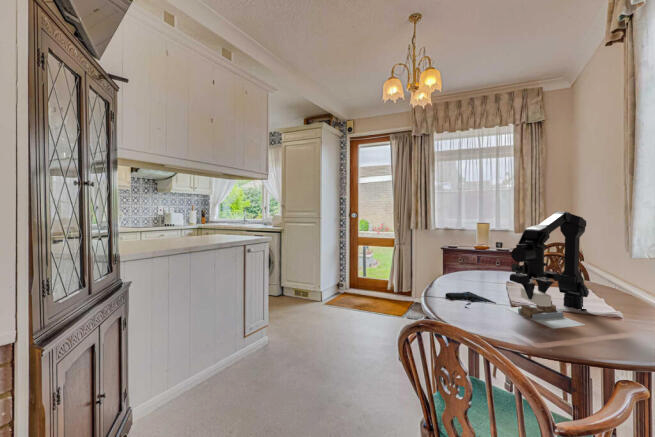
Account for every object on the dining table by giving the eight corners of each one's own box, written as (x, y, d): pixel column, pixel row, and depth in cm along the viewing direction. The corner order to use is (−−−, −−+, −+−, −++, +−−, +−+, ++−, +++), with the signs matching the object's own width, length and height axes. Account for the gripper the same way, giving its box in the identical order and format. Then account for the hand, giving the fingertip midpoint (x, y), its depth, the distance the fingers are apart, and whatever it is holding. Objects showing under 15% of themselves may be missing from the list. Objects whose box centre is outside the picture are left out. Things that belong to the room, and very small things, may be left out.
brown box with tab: (546, 312, 122) (546, 298, 122) (555, 315, 118) (556, 301, 118) (521, 314, 120) (521, 301, 120) (529, 318, 116) (529, 304, 116)
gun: (479, 316, 126) (506, 311, 130) (479, 310, 125) (506, 305, 130) (441, 298, 148) (465, 294, 153) (441, 292, 148) (465, 289, 153)
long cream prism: (530, 296, 124) (530, 287, 124) (551, 306, 112) (551, 295, 112) (520, 296, 124) (520, 287, 124) (540, 306, 112) (540, 296, 112)
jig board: (533, 308, 130) (533, 301, 130) (585, 328, 108) (585, 319, 108) (505, 310, 128) (505, 303, 128) (553, 331, 106) (553, 323, 106)
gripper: (537, 255, 127) (537, 291, 128) (499, 257, 124) (499, 294, 125) (562, 259, 116) (562, 299, 117) (521, 262, 113) (521, 303, 114)
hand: (535, 298), depth 118 cm, fingers closed on long cream prism, 4 cm apart
